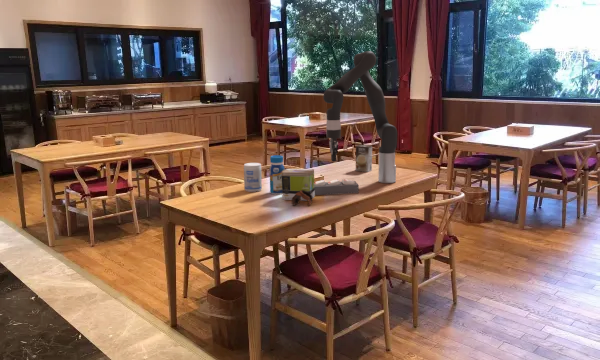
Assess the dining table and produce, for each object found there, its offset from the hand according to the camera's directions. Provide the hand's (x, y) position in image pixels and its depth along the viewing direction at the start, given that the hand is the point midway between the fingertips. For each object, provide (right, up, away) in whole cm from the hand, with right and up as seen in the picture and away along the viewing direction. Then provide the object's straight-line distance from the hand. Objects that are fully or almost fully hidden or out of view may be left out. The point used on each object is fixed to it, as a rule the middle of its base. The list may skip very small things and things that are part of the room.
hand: (333, 160), depth 266 cm
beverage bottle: (-30, -17, +5) cm, 35 cm away
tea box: (-19, -20, -7) cm, 28 cm away
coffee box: (+23, -4, +55) cm, 60 cm away
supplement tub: (-44, -16, +11) cm, 48 cm away
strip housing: (0, -17, +4) cm, 17 cm away
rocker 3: (+8, -12, +4) cm, 15 cm away
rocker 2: (0, -12, +3) cm, 13 cm away
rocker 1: (-7, -13, +2) cm, 15 cm away
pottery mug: (-18, -23, -20) cm, 35 cm away
